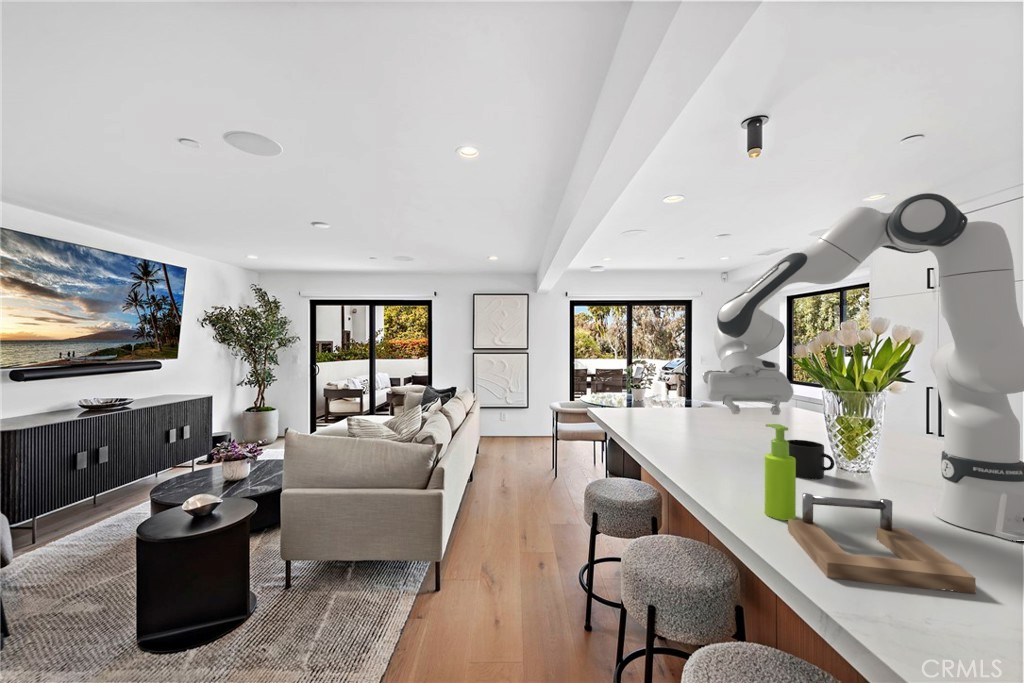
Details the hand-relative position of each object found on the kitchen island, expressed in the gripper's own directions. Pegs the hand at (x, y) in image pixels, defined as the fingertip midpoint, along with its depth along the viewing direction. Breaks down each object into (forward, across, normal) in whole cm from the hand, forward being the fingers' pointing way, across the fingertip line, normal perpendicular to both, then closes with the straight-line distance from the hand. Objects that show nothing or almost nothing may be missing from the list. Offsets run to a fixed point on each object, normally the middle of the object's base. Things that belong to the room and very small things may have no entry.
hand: (756, 413), depth 110 cm
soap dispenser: (+23, 0, +7) cm, 24 cm away
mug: (+1, +22, +28) cm, 36 cm away
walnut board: (+36, +7, -7) cm, 37 cm away
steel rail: (+29, +8, -3) cm, 30 cm away
